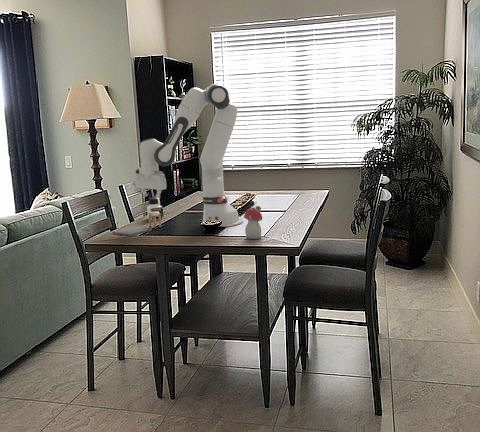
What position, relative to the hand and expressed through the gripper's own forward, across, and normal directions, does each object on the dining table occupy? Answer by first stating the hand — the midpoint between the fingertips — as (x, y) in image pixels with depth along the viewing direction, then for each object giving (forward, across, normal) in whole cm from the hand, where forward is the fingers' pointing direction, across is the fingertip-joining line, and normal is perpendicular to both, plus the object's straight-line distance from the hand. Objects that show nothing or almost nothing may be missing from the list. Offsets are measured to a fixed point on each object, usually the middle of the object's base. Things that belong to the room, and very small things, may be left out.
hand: (151, 197), depth 287 cm
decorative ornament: (+15, -64, -3) cm, 66 cm away
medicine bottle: (+16, +17, -18) cm, 30 cm away
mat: (+16, +2, +12) cm, 21 cm away
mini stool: (+16, -1, -1) cm, 16 cm away
